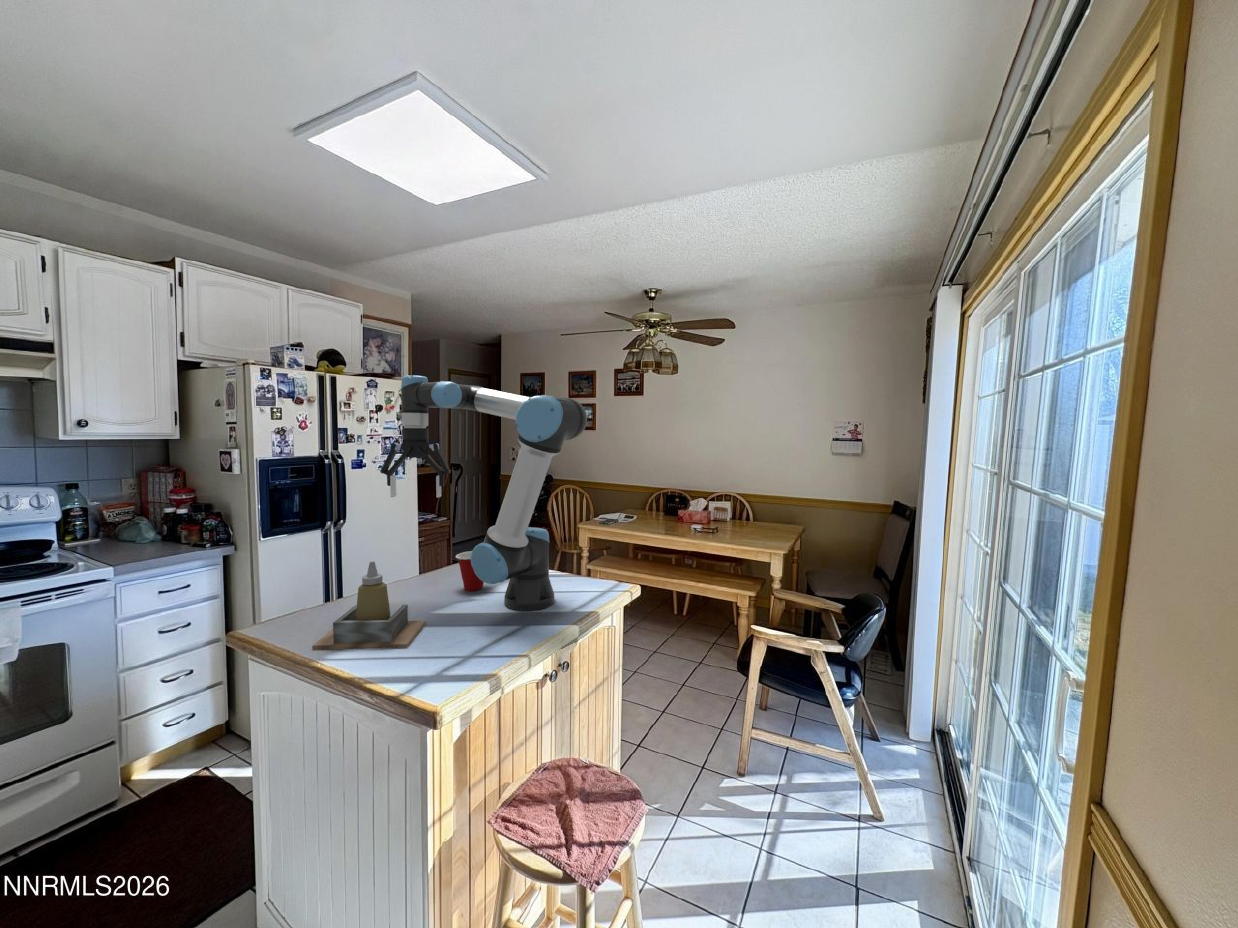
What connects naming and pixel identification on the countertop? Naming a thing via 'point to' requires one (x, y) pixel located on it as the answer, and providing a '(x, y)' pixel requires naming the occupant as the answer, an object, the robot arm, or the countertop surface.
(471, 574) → the plastic cup
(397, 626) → the u rest
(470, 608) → the countertop surface
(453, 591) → the countertop surface
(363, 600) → the squeeze bottle
